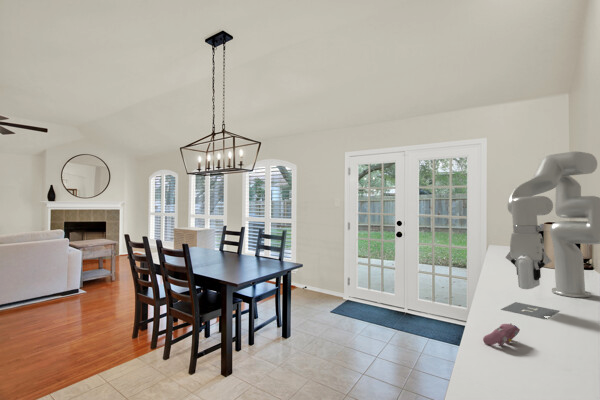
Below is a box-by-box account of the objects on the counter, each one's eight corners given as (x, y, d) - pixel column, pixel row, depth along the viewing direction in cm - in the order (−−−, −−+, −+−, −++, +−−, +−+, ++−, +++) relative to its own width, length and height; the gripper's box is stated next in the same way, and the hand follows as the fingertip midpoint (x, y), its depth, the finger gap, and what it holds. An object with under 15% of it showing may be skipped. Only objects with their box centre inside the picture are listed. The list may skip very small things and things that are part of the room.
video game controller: (495, 354, 84) (506, 335, 82) (480, 341, 88) (490, 322, 85) (515, 345, 89) (526, 327, 86) (500, 333, 92) (510, 316, 90)
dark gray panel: (515, 302, 123) (515, 301, 123) (559, 311, 112) (559, 310, 112) (500, 309, 115) (500, 309, 115) (546, 320, 104) (546, 319, 104)
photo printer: (528, 283, 119) (526, 251, 119) (541, 285, 115) (539, 252, 116) (516, 288, 113) (514, 255, 113) (530, 290, 110) (528, 256, 110)
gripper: (556, 229, 110) (560, 280, 110) (504, 228, 124) (507, 273, 123) (549, 231, 106) (553, 284, 105) (496, 230, 120) (499, 276, 119)
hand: (528, 278), depth 114 cm, fingers closed on photo printer, 4 cm apart
